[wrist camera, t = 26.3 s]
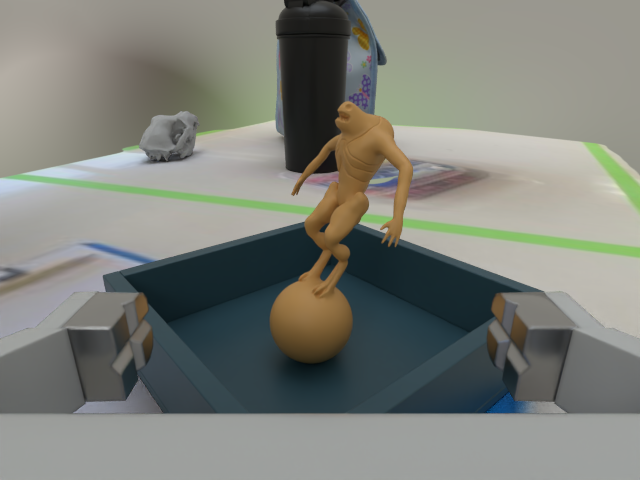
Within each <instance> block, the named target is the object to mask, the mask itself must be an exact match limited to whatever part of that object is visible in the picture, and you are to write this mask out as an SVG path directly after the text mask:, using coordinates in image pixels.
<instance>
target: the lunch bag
mask: <svg viewBox="0 0 640 480" xmlns="http://www.w3.org/2000/svg"><path fill="white" fill-rule="evenodd" d="M334 4H336V5H338V6H339V7H341V8H342V9H343V10H344V11H345V12H346V14H347V16H348V20H350V21H351V36H350V39H349V40H348V54H347V74H346V94H345V102H346V101H350V102H352V103H354V104H355V105H356V106H357V107H359V108H360V109H361V110H362V111H363V112H365V113H367V114H372V115H374V109H375V96H376V84H377V65H385V64H386V62H387V60H386V56H385V54H384V51H383V49H382V47H381V45H380V43H379V41H378V39H377V37H376V35H375V33H374V30H373V28H372V25H371V23H370V21H369V19H368V16H367V15H366V13H365V12H364V10H363V9H362V7H361V6H360V4H359V2H358V1H357V0H340V1H338V2H334ZM276 129H277V131H278V132H279V133H280V134H282V135H283V136H284V124H283V106H282V88H281V70H280V52H279V39H278V42H277V101H276Z"/></svg>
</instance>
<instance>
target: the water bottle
mask: <svg viewBox="0 0 640 480" xmlns="http://www.w3.org/2000/svg"><path fill="white" fill-rule="evenodd" d="M338 1H340V0H284V3H285V6H286V8H285V9H284V10H283V11H282V12H281V13H280V15H279V19H278V20H277V21H276V35H277V39H279V52H280V70H281V88H282V106H283V124H284V142H285V160H286V168H287V169H288V170H291V171H294V172H301V173H303V172H304V171H305V169H306V168H307V166H308V165H309V164H310V163H311V162H312V161H313V160H314V159H315V158H316V157H317V156H318V155H319V153H320V152H321V150H322V148H323V147H324V146H325V145H326V144H327V143H328V142H329V141H330V140H331V139H333V138H334V137H335V136H337V135H340V134H341V133H342V132H341V130H340V129H339V128H338V127H337V126H336V123H335V120H336V119H337V118H338V117H340V116H339V112H338V108H339V107H340V106H341V105H342V104H343V103H344V102H345V94H346V74H347V54H348V40H349V39H350V36H351V21H350V20H348V16H347V14H346V12H345V11H344V10H343V9H342V8H341V7H339V6H338V5H336V4H334V2H338ZM337 170H338V168H337V162H336V157H335V150H334V151H331V152H330V154H329V155H328V157H327V158H326V159H325V161H324V162H323V163H322V164H321V165H320V166H319V167H318V168H317V169H316V170H315V171H314V172H313V173H327V172H333V171H337Z"/></svg>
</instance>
